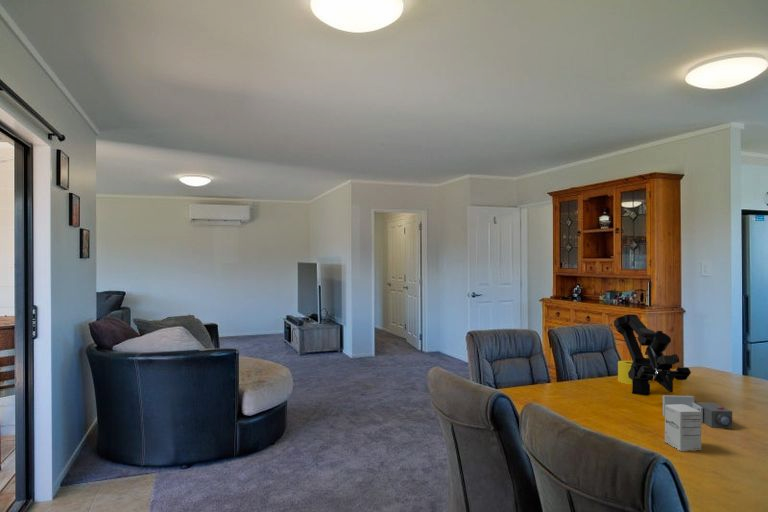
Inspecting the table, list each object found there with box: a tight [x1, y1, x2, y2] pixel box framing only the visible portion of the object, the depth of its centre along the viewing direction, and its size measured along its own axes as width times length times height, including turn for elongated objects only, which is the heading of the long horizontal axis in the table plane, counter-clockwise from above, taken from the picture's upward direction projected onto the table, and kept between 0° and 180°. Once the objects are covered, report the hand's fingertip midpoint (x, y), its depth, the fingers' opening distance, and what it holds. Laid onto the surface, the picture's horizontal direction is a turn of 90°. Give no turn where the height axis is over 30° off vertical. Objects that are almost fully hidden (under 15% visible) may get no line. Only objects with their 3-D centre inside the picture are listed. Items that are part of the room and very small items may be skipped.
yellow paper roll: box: [617, 360, 633, 385], centre depth 227 cm, size 10×10×9 cm
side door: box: [662, 394, 704, 424], centre depth 174 cm, size 6×11×8 cm, turn 85°
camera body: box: [694, 401, 733, 429], centre depth 170 cm, size 12×7×7 cm, turn 175°
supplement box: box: [664, 404, 702, 452], centre depth 149 cm, size 7×7×13 cm
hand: (671, 392), depth 182 cm, fingers closed
